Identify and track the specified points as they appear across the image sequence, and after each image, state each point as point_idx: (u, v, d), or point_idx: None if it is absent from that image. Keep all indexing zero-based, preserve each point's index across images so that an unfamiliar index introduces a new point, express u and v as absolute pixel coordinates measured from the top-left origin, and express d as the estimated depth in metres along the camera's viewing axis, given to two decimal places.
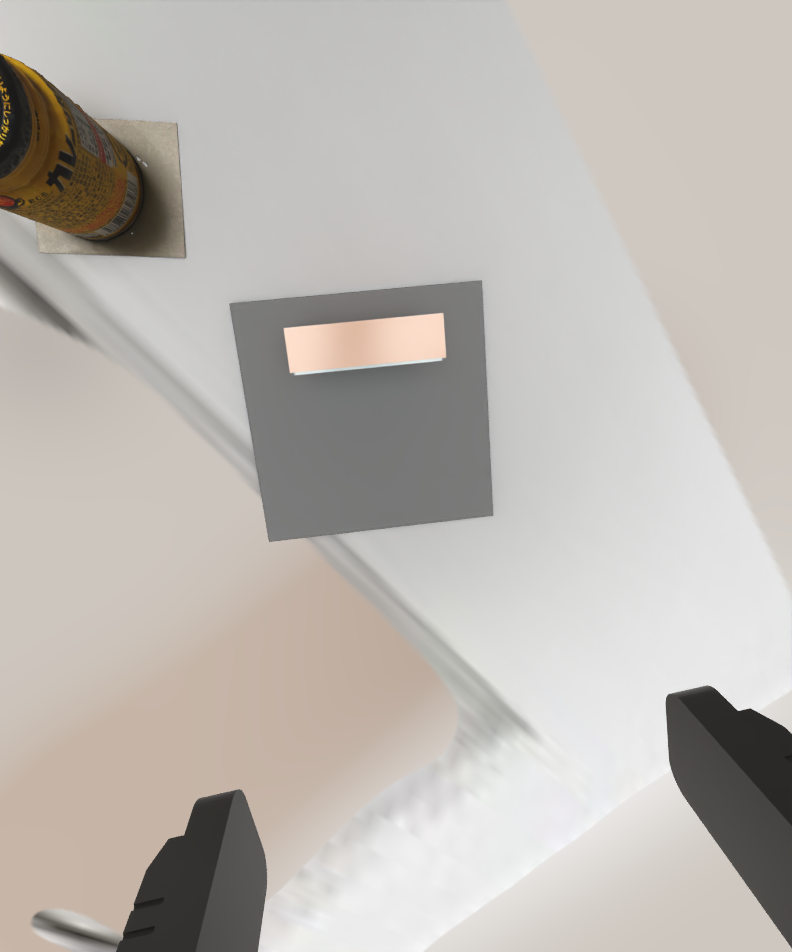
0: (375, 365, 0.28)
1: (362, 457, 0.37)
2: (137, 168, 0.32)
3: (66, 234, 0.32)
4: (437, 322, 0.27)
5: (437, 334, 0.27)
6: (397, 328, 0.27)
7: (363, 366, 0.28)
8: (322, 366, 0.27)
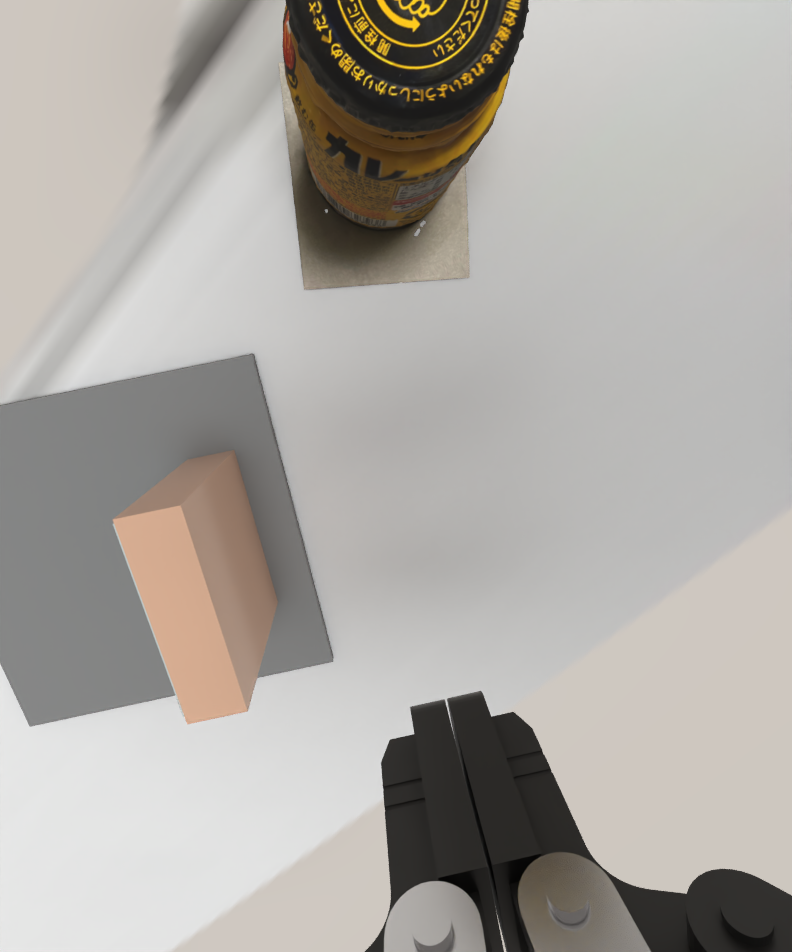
0: (155, 634, 0.19)
1: (69, 551, 0.26)
2: (410, 222, 0.23)
3: None
4: (233, 706, 0.19)
5: (216, 708, 0.19)
6: (214, 658, 0.19)
7: None
8: (134, 565, 0.18)
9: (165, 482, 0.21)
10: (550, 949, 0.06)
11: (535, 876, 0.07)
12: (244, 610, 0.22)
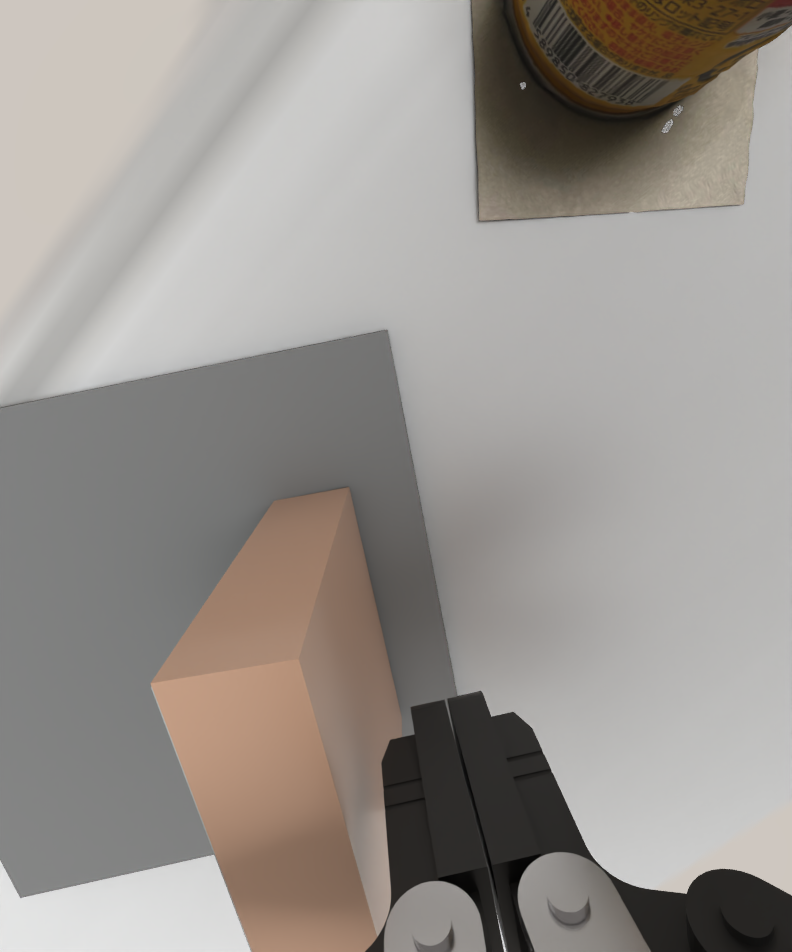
0: None
1: (83, 644, 0.16)
2: (660, 107, 0.14)
3: None
4: None
5: None
6: (348, 942, 0.09)
7: None
8: (195, 772, 0.08)
9: (248, 560, 0.12)
10: (550, 949, 0.06)
11: (535, 876, 0.07)
12: (381, 790, 0.12)
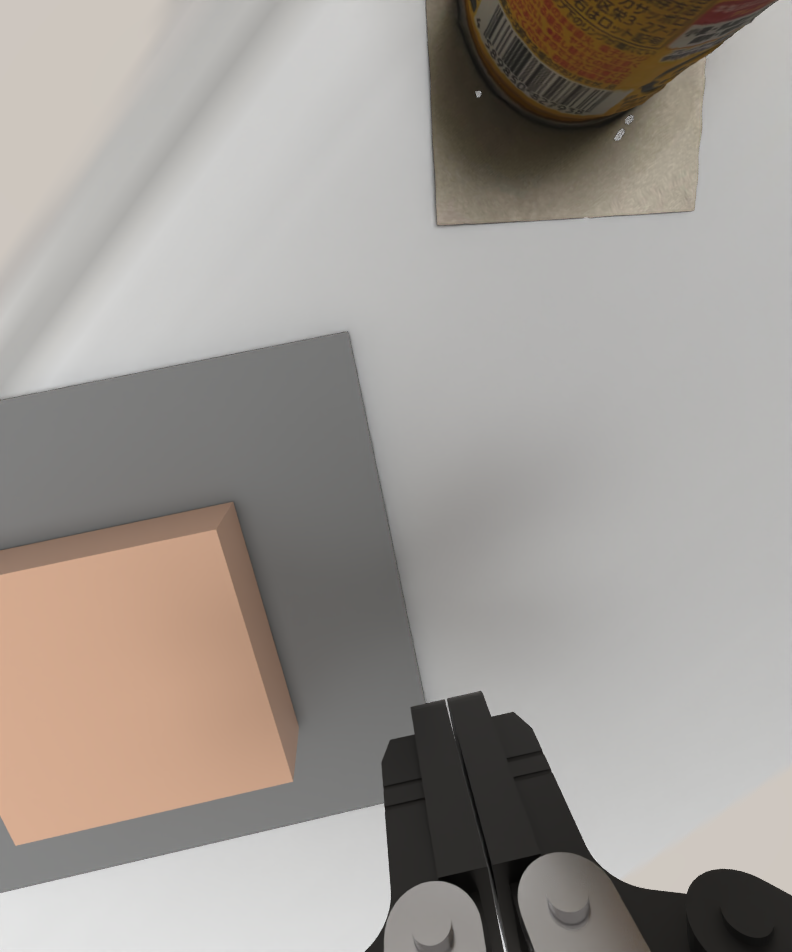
0: None
1: None
2: (612, 116, 0.14)
3: None
4: None
5: None
6: None
7: None
8: None
9: (84, 536, 0.15)
10: (550, 949, 0.06)
11: (535, 876, 0.07)
12: (87, 753, 0.15)
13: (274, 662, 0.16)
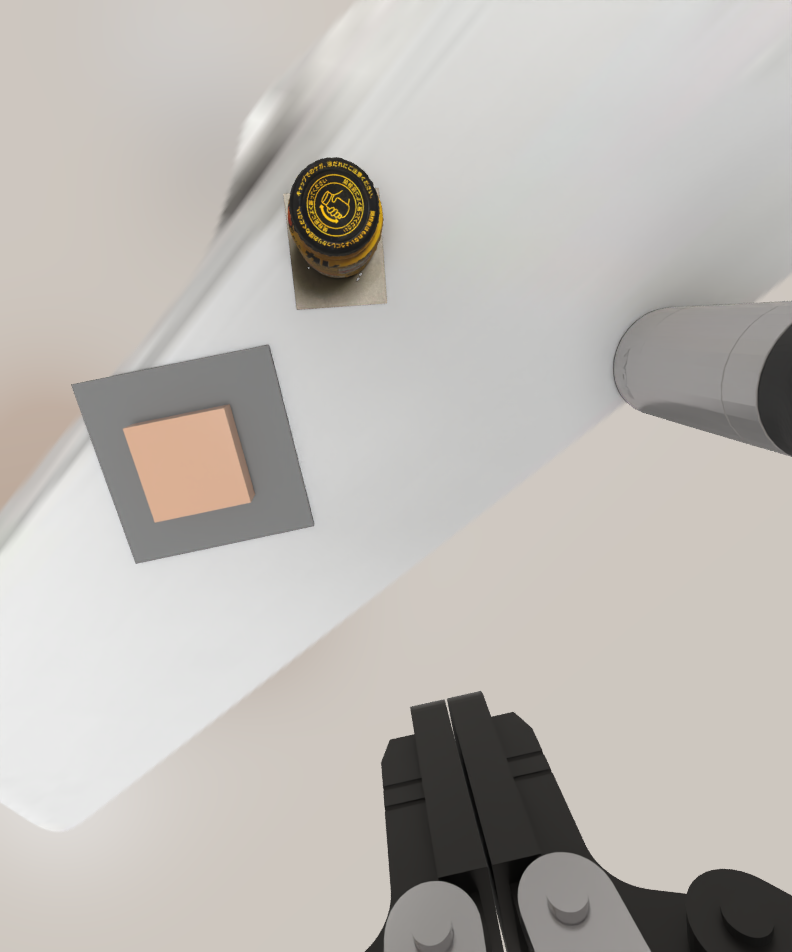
0: None
1: None
2: (353, 274, 0.43)
3: None
4: None
5: None
6: None
7: None
8: None
9: (179, 414, 0.44)
10: (550, 949, 0.06)
11: (535, 876, 0.07)
12: (180, 487, 0.44)
13: (244, 463, 0.45)
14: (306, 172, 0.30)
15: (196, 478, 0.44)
